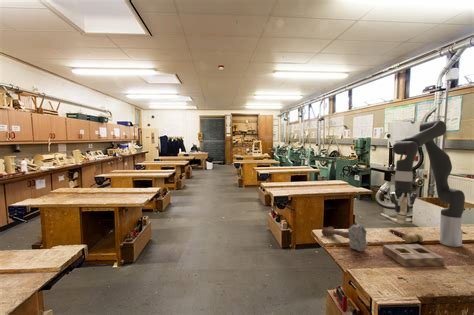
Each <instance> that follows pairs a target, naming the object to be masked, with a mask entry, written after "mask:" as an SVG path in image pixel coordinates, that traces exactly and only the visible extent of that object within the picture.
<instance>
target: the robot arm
mask: <svg viewBox="0 0 474 315" xmlns="http://www.w3.org/2000/svg"><path fill="white" fill-rule="evenodd" d="M446 133H447V125H446V122H444V121H443V120H439V119H438V120H432V121H427V122H422V123H420V124H419V131H418V132H416V133H413V134H412V135H410V136H409V137H407V138H403V139H400V140H398V141H397V142H395V143H394V144H393V145H392V151H393V153H394V154H395V155H397V156H398V155H399V156H406V157H405V158H403V159H397V160H396V164H395V165H396V166H395V174H394V191H393V192H389V193H388V196H389V199H390V203H391V204H393V205H394V211H395V212H396V213H397V212H398V213H400V206H399V205H400V203H401V202H402V199H403V197H407V213H410V206H411V205H414V204H415V201H416V199H417V195H418V193H415V192H413V191H412V189H413V182H414V181H413V178H414V177H413V176H414V174H413V169H414V166H413V165H414V162H415V159H416V156H417V153H418V151H419V148H420V147H422V146H423V145H424V146H425V149H426V153H427V155H428V160H429V163H430V168H431V169H432V173H433V176H434V182H435V187H436V193H437V194H436V195H437V197H438V198H437V199H439V201H440V202H441V203H444V204H449V206H448V208H442V209H441V210H440V219H439V220H440V222H439V225H440V227H439V243H440V244H442V245H443V246H448V247H453V248H459V247H462V245H463V229H462V217H463V216H462V215H463V213H464V210H465V202H466V197H465V192H463V190H460V189H456V188H450V186H449V180H448V179H449V177H450V175H451V172H452V170H453V164H452V161H451V157H450V156H449V154H447V152H445V151H444V150H443V149H442V148H440V147H439V146H438V145H437V144H436V143H435V141H434V139H436V138H438V137H439V138H440V137H442V136H444V135H445V134H446ZM398 198H399V199H398Z"/></svg>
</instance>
